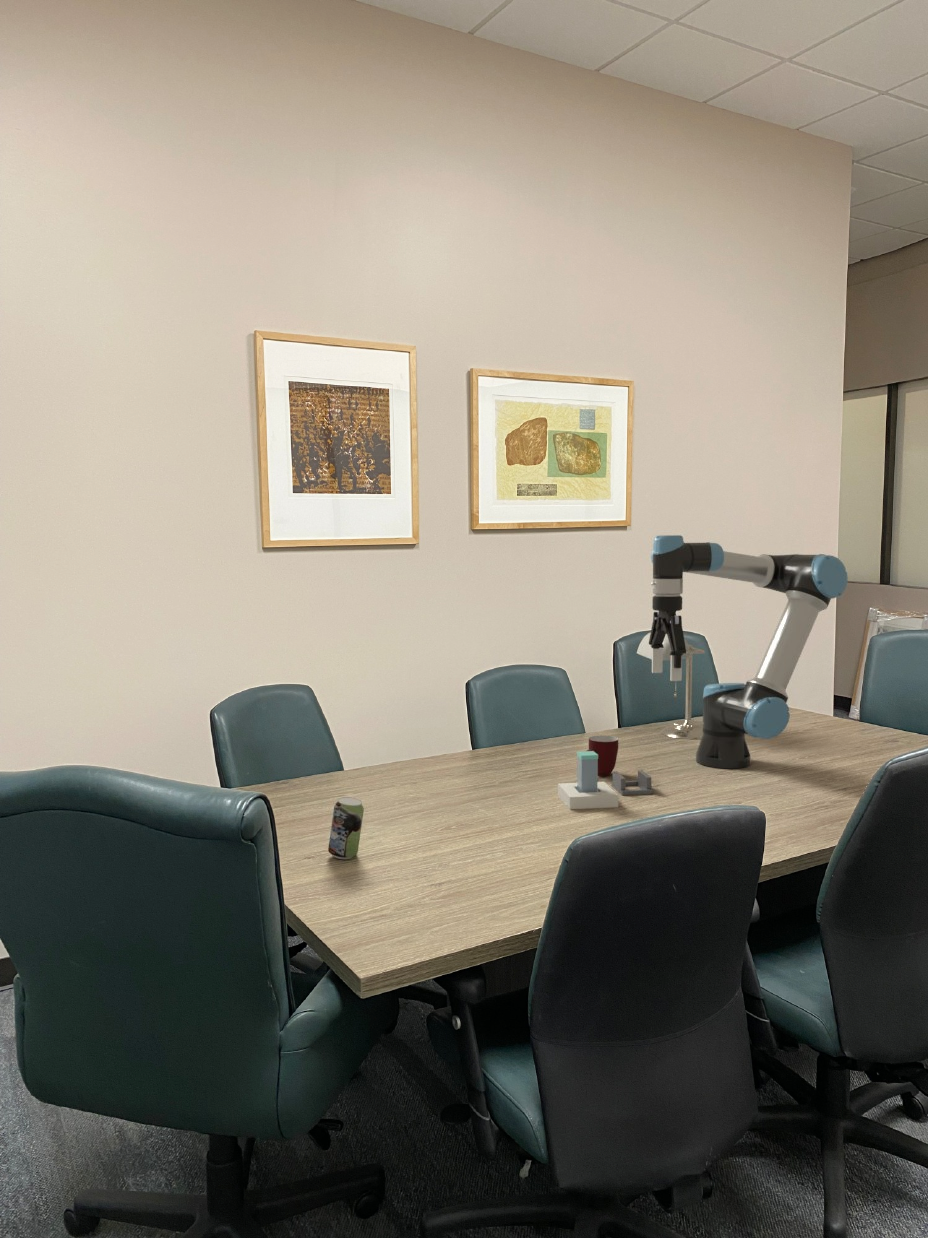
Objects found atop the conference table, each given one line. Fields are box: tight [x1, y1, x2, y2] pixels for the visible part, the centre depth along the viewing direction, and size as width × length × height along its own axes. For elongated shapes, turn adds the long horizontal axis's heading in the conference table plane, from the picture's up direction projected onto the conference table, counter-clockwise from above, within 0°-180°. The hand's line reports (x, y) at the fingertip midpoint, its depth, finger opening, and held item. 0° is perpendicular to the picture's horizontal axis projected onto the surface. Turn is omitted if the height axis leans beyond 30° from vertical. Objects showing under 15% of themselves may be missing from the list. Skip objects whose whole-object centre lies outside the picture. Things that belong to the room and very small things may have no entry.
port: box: [557, 781, 619, 810], centre depth 216 cm, size 12×12×3 cm
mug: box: [586, 735, 619, 777], centre depth 240 cm, size 10×8×10 cm
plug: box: [576, 750, 599, 793], centre depth 216 cm, size 4×4×12 cm
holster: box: [610, 769, 654, 796], centre depth 226 cm, size 8×9×4 cm
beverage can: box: [327, 796, 365, 860], centre depth 178 cm, size 6×7×12 cm
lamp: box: [636, 631, 706, 740], centre depth 290 cm, size 26×24×34 cm
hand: (666, 676), depth 228 cm, fingers open, 13 cm apart
